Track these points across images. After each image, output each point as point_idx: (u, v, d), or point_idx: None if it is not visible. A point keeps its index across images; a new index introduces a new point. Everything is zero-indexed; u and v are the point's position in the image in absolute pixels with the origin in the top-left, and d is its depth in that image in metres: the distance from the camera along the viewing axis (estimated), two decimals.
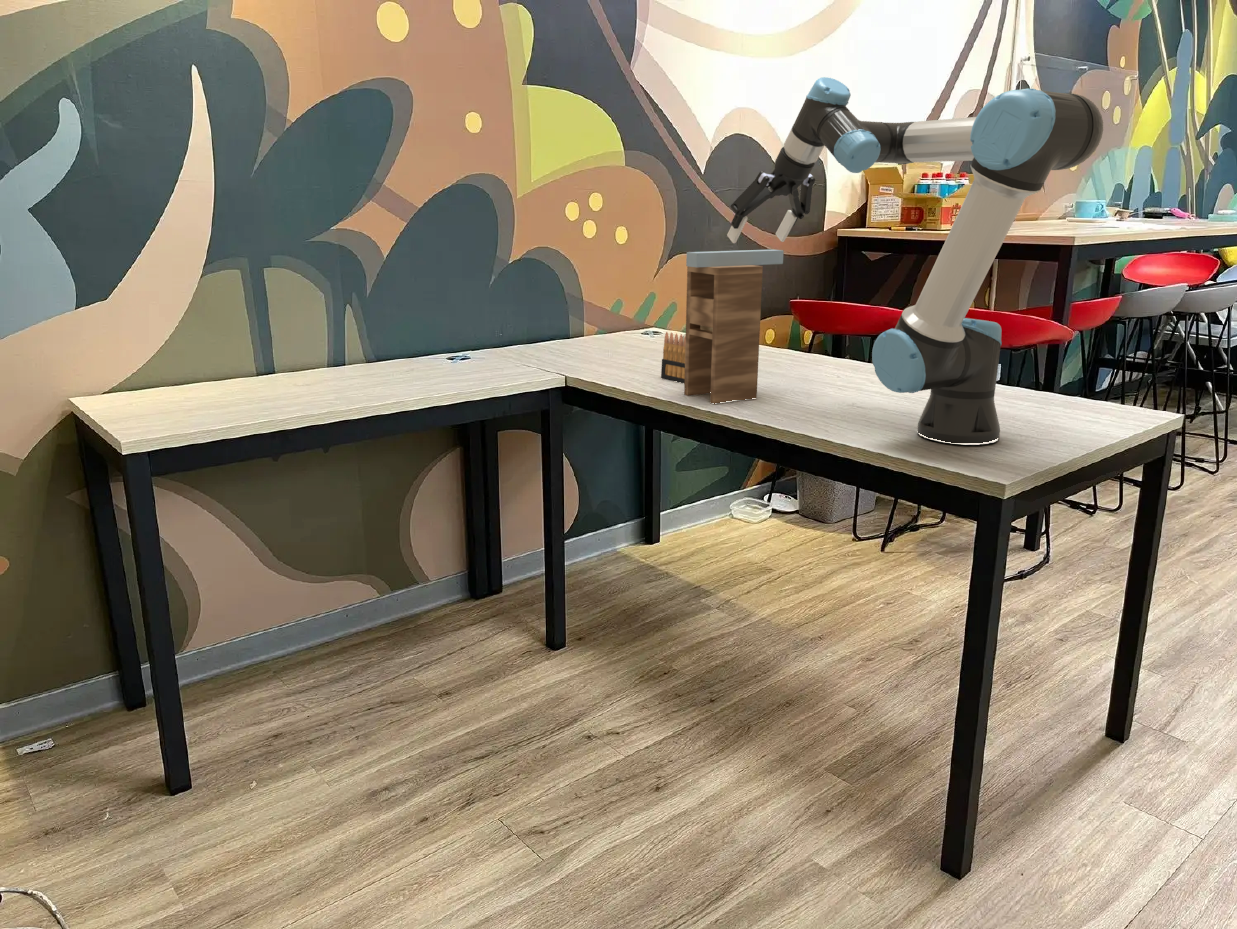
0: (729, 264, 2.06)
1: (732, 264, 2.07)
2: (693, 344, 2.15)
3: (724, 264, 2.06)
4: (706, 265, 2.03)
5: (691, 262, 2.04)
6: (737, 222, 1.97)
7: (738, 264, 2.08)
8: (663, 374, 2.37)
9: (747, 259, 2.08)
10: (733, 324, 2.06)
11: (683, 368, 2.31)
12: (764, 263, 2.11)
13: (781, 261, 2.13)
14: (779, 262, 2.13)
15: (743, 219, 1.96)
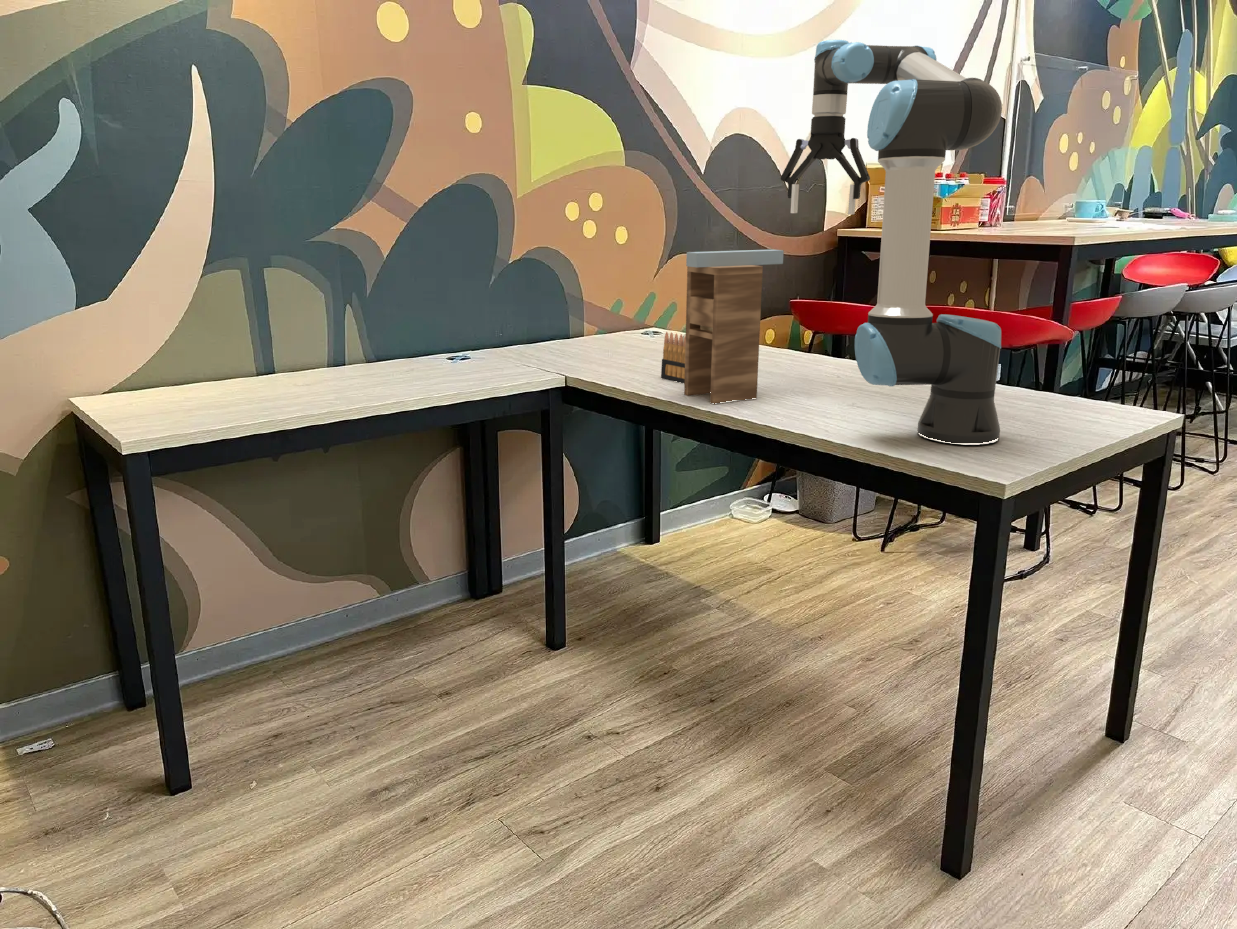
0: (729, 264, 2.06)
1: (732, 264, 2.07)
2: (693, 344, 2.15)
3: (724, 264, 2.06)
4: (706, 265, 2.03)
5: (691, 262, 2.04)
6: (789, 191, 2.17)
7: (738, 264, 2.08)
8: (663, 374, 2.37)
9: (747, 259, 2.08)
10: (733, 324, 2.06)
11: (683, 368, 2.31)
12: (764, 263, 2.11)
13: (781, 261, 2.13)
14: (779, 262, 2.13)
15: (792, 186, 2.16)
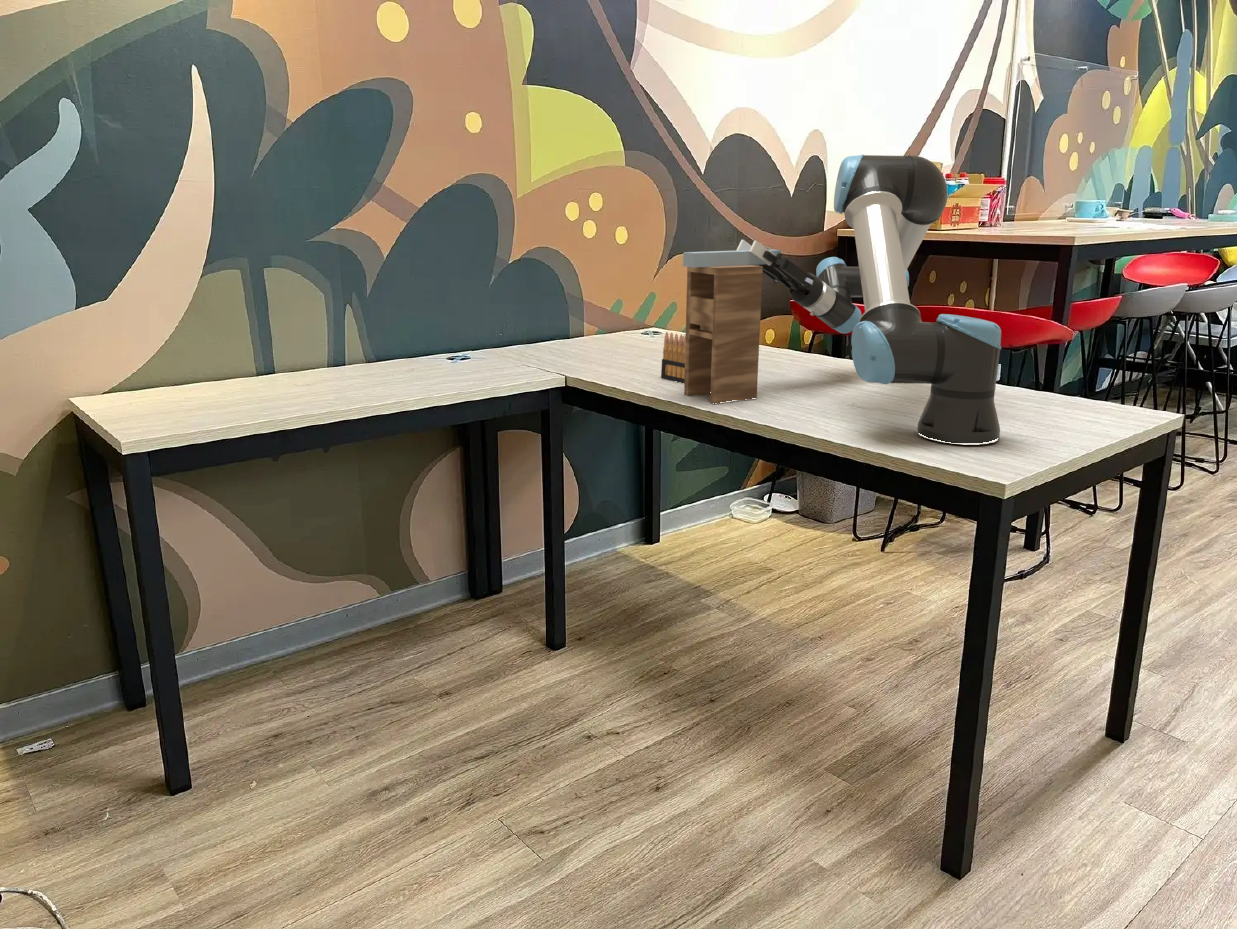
0: (726, 264, 2.06)
1: (729, 264, 2.06)
2: (693, 344, 2.15)
3: (721, 264, 2.05)
4: (703, 265, 2.03)
5: (688, 262, 2.03)
6: None
7: (735, 264, 2.07)
8: (663, 374, 2.37)
9: (744, 259, 2.08)
10: (733, 324, 2.06)
11: (683, 368, 2.31)
12: (761, 263, 2.11)
13: None
14: None
15: None
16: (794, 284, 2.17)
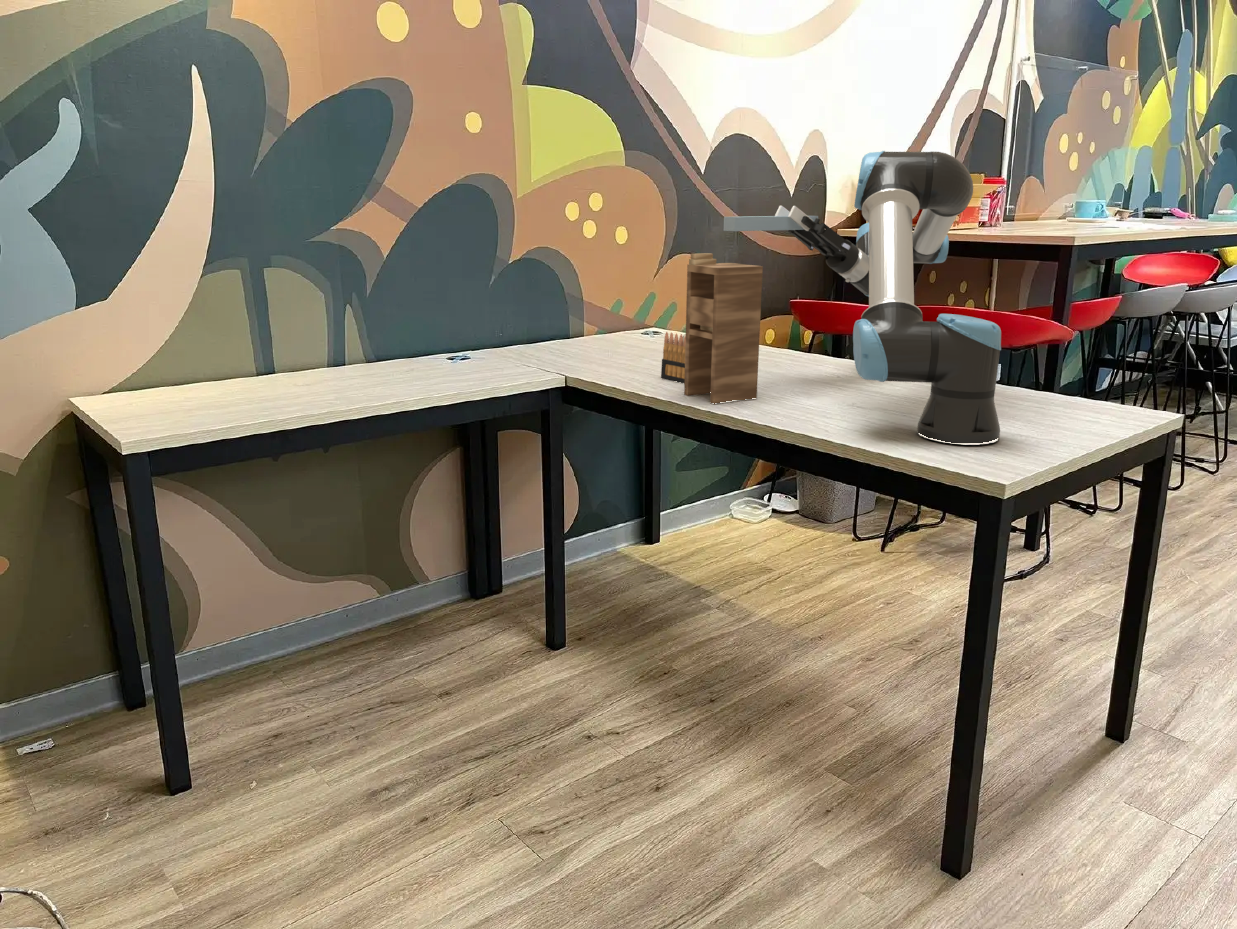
0: (766, 228, 2.09)
1: (768, 229, 2.10)
2: (693, 344, 2.15)
3: (761, 228, 2.09)
4: (743, 229, 2.06)
5: (729, 226, 2.06)
6: None
7: (775, 229, 2.11)
8: (663, 374, 2.37)
9: (783, 224, 2.11)
10: (733, 324, 2.06)
11: (683, 368, 2.31)
12: (799, 228, 2.14)
13: None
14: None
15: None
16: (831, 250, 2.20)
